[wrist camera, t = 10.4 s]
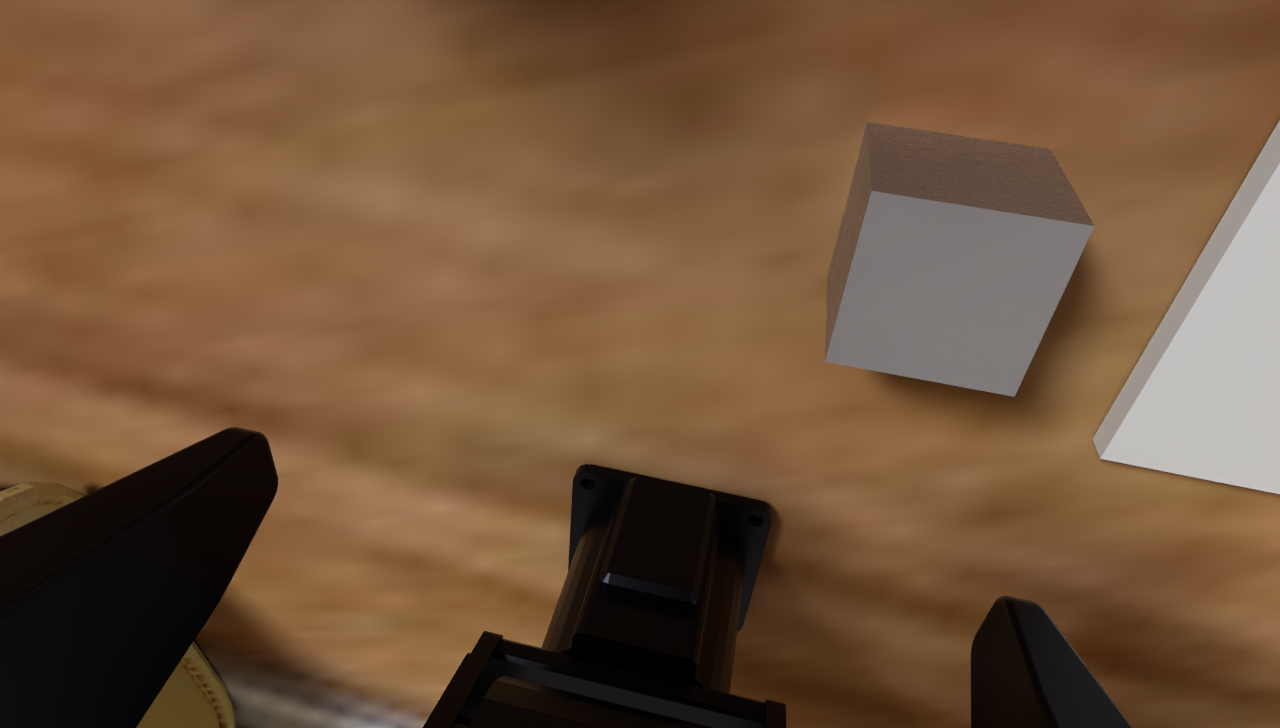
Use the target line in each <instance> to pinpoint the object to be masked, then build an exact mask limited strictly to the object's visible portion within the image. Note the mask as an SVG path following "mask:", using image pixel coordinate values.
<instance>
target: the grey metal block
mask: <svg viewBox="0 0 1280 728" xmlns="http://www.w3.org/2000/svg"><path fill="white" fill-rule="evenodd" d="M1093 228H1094V224H1093V222H1092V221H1091V219H1090V217H1089V216H1088V214H1087V212H1086V210H1085V209H1084V207H1083V205H1082V203H1081V202H1080V200H1079V198H1078V196H1077V195H1076V193H1075V191H1074V189H1073V188H1072V186H1071V184H1070V182H1069V181H1068V179H1067V177H1066V176H1065V174H1064V172H1063V170H1062V169H1061V167H1060V165H1059V163H1058V162H1057V160H1056V158H1055V156H1054V155H1053V153H1052V151H1051V149H1047V148H1041V147H1034V146H1027V145H1020V144H1013V143H1007V142H1000V141H993V140H986V139H979V138H973V137H966V136H959V135H952V134H945V133H939V132H932V131H925V130H918V129H911V128H905V127H898V126H891V125H884V124H877V123H871V122H867V124H866V128H865V132H864V136H863V140H862V144H861V148H860V152H859V156H858V159H857V163H856V167H855V171H854V175H853V179H852V183H851V187H850V191H849V195H848V199H847V202H846V206H845V210H844V214H843V218H842V222H841V226H840V230H839V234H838V238H837V242H836V246H835V249H834V253H833V257H832V261H831V265H830V269H829V273H828V290H827V316H826V343H825V362H829V363H835V364H840V365H845V366H851V367H856V368H862V369H867V370H872V371H878V372H883V373H889V374H894V375H899V376H905V377H910V378H916V379H921V380H926V381H932V382H937V383H943V384H948V385H953V386H959V387H964V388H970V389H975V390H980V391H986V392H991V393H997V394H1002V395H1007V396H1013V397H1015V395H1016V393H1017V391H1018V388H1019V386H1020V384H1021V382H1022V380H1023V378H1024V376H1025V374H1026V371H1027V369H1028V367H1029V365H1030V363H1031V361H1032V359H1033V356H1034V354H1035V352H1036V350H1037V348H1038V346H1039V344H1040V342H1041V339H1042V337H1043V335H1044V333H1045V331H1046V329H1047V327H1048V324H1049V322H1050V320H1051V318H1052V316H1053V314H1054V312H1055V310H1056V307H1057V305H1058V303H1059V301H1060V299H1061V297H1062V295H1063V292H1064V290H1065V288H1066V286H1067V284H1068V282H1069V280H1070V278H1071V275H1072V273H1073V271H1074V269H1075V267H1076V265H1077V263H1078V260H1079V258H1080V256H1081V254H1082V252H1083V250H1084V248H1085V246H1086V243H1087V241H1088V239H1089V237H1090V235H1091V233H1092V231H1093Z"/></svg>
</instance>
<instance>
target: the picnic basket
mask: <svg viewBox="0 0 1280 728" xmlns="http://www.w3.org/2000/svg"><path fill="white" fill-rule="evenodd" d="M82 497H84V495H82V494H79V493H77V492H75V491H73V490H71V489H68V488H66V487H64V486H62V485H60V484H53V483H26V482H25V483H22V484H19V485H16V486H14V487H11V488H9V489H6V490H1V489H0V536H2V535H4V534H6V533H8V532H10V531H12V530H14V529H17V528H19V527H21V526H23V525H25V524H27V523H29V522H31V521H33V520H35V519H38V518H40V517H42V516H44V515H46V514H48V513H50V512H52V511H54V510H56V509H59V508H61V507H63V506H65V505H67V504H69V503H71V502H73V501H75V500H78V499H80V498H82ZM136 728H236V726H235V718H234V709H233V705H232V703H231V700H230V698H229V695H228V693H227V691H226V688H225V686H224V685H223V683H222V682H221V680H220V679H219V677H218V676H217V674H216V673H215V671H214V670H213V668H212V667H211V666H210V664H209V663H208V661H207V660H206V658H205V657H204V655H203V654H202V652H201V651H200V649H199V648H198V646H197V645H196V643H195V642H194V641H193V643H192V644H191V646H190V647H189V649H188V650H187V652H186V653H185V655H184V656H183V658H182V660H181V661H180V663H179V664H178V666H177V667H176V669H175V670H174V672H173V673H172V675H171V676H170V678H169V679H168V681H167V682H166V684H165V685H164V687H163V688H162V690H161V691H160V693H159V694H158V696H157V697H156V699H155V700H154V702H153V703H152V705H151V706H150V708H149V709H148V711H147V712H146V714H145V715H144V717H143V718H142V720H141V721H140V723H139V724H138V726H137V727H136Z"/></svg>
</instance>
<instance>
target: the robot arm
mask: <svg viewBox="0 0 1280 728" xmlns="http://www.w3.org/2000/svg"><path fill="white" fill-rule="evenodd" d="M586 478H588V479H591V480H593V481H589V480H587V479H586ZM277 487H278V476H277V472H276V468H275V465H274V461H273V457H272V453H271V450H270V446H269V442H268V440H267V438H266V437H265V436H264V434H262V433H260V432H257V431H252V430H248V429H243V428H238V427H232V428H228V429H225V430H223V431H221V432H218V433H216V434H214V435H212V436H210V437H208V438H206V439H204V440H202V441H200V442H197V443H195V444H193V445H191V446H189V447H187V448H185V449H183V450H181V451H178V452H176V453H174V454H172V455H170V456H168V457H166V458H164V459H162V460H160V461H157V462H155V463H153V464H151V465H149V466H147V467H145V468H143V469H141V470H139V471H136V472H134V473H132V474H130V475H128V476H126V477H124V478H122V479H120V480H117V481H115V482H113V483H111V484H109V485H107V486H105V487H103V488H101V489H99V490H96V491H94V492H92V493H90V494H88V495H86V496H84V497H82V498H80V499H78V500H75V501H73V502H71V503H69V504H67V505H65V506H63V507H61V508H59V509H56V510H54V511H52V512H50V513H48V514H46V515H44V516H42V517H40V518H38V519H35V520H33V521H31V522H29V523H27V524H25V525H23V526H21V527H19V528H17V529H14V530H12V531H10V532H8V533H6V534H4V535H2V536H0V728H136V727H137V726H138V724H139V723H140V721H141V720H142V718H143V717H144V715H145V714H146V712H147V711H148V709H149V708H150V706H151V705H152V703H153V702H154V700H155V699H156V697H157V696H158V694H159V693H160V691H161V690H162V688H163V687H164V685H165V684H166V682H167V681H168V679H169V678H170V676H171V675H172V673H173V672H174V670H175V669H176V667H177V666H178V664H179V663H180V661H181V660H182V658H183V656H184V655H185V653H186V652H187V650H188V649H189V647H190V646H191V644H192V643H193V641H194V640H195V638H196V637H197V635H198V634H199V632H200V631H201V629H202V628H203V626H204V625H205V623H206V622H207V620H208V619H209V617H210V616H211V614H212V612H213V611H214V609H215V608H216V606H217V604H218V603H219V601H220V600H221V598H222V596H223V594H224V592H225V591H226V589H227V587H228V585H229V584H230V582H231V580H232V578H233V576H234V574H235V572H236V570H237V568H238V566H239V564H240V562H241V561H242V559H243V557H244V555H245V553H246V551H247V549H248V547H249V545H250V543H251V541H252V539H253V538H254V536H255V534H256V532H257V530H258V528H259V526H260V524H261V522H262V520H263V518H264V516H265V515H266V513H267V511H268V509H269V507H270V505H271V503H272V501H273V499H274V497H275V495H276V491H277ZM752 515H758V516H761V517H754V516H752ZM771 521H772V509H771V508H770V506H769V505H768V504H766V503H765V502H762V501H759V500H754V499H750V498H745V497H740V496H736V495H731V494H726V493H722V492H717V491H712V490H708V489H703V488H698V487H694V486H689V485H684V484H680V483H675V482H670V481H665V480H661V479H656V478H651V477H647V476H642V475H637V474H633V473H628V472H623V471H619V470H614V469H609V468H605V467H600V466H595V465H588V464H585V465H582V466H580V467H579V468H578V469H577V471H576V474H575V477H574V479H573V490H572V509H571V528H570V547H569V566H568V574H567V577H566V580H565V583H564V586H563V588H562V591H561V594H560V597H559V600H558V603H557V605H556V608H555V611H554V614H553V617H552V620H551V622H550V625H549V628H548V631H547V634H546V637H545V639H544V642H543V645H542V648H539V647H535V646H531V645H527V644H522V643H518V642H514V641H510V640H506V639H503V635H499V634H495V633H491V632H487V631H484V632H483V634H482V635H481V637H480V639H479V640H478V642H477V644H476V646H475V647H474V649H473V651H472V652H471V653H467V655H466V656H465V658H464V660H463V661H462V663H461V665H460V666H459V668H458V670H457V671H456V673H455V675H454V676H453V678H452V680H451V681H450V683H449V685H448V686H447V688H446V690H445V691H444V693H443V695H442V696H441V698H440V700H439V701H438V703H437V705H436V706H435V708H434V710H433V711H432V713H431V715H430V716H429V718H428V720H427V721H426V723H425V725H424V726H423V728H786V705H785V704H784V703H780V702H776V701H771V700H767V699H766V700H765V702H761V701H757V700H753V699H749V698H745V697H741V696H736V695H732V694H729V692H730V684H731V676H732V668H733V660H734V652H735V644H736V637H737V632H738V631H740V630H741V628H742V627H743V623H744V620H745V616H746V612H747V609H748V605H749V602H750V598H751V595H752V591H753V587H754V584H755V580H756V577H757V573H758V569H759V566H760V562H761V559H762V555H763V552H764V548H765V544H766V541H767V537H768V534H769V530H770V526H771ZM971 728H1132V726H1131V725H1130V724H1129V722H1128V721H1127V720H1126V718H1125V717H1124V716H1123V714H1122V713H1121V712H1120V710H1119V709H1118V708H1117V706H1116V705H1115V704H1114V702H1113V701H1112V700H1111V698H1110V697H1109V696H1108V694H1107V693H1106V692H1105V690H1104V689H1103V687H1102V686H1101V685H1100V683H1099V682H1098V681H1097V679H1096V678H1095V677H1094V675H1093V674H1092V673H1091V671H1090V670H1089V669H1088V667H1087V666H1086V665H1085V663H1084V662H1083V661H1082V659H1081V658H1080V657H1079V655H1078V654H1077V653H1076V651H1075V650H1074V649H1073V647H1072V646H1071V645H1070V643H1069V642H1068V641H1067V639H1066V638H1065V637H1064V635H1063V634H1062V633H1061V631H1060V630H1059V628H1058V627H1057V626H1056V624H1055V623H1054V622H1053V620H1052V619H1051V618H1050V616H1049V615H1048V614H1047V612H1046V611H1045V610H1044V609H1043V608H1042V607H1041V606H1040V605H1039V604H1037V603H1035V602H1032V601H1028V600H1023V599H1019V598H1014V597H1010V596H1002V597H1000V598H998V599H997V600H996V601H995V603H994V604H993V606H992V608H991V609H990V611H989V613H988V615H987V616H986V618H985V620H984V621H983V623H982V625H981V627H980V628H979V630H978V632H977V633H976V635H975V637H974V640H973V644H972V649H971Z"/></svg>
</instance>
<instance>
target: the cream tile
mask: <svg viewBox="0 0 1280 728" xmlns="http://www.w3.org/2000/svg"><path fill="white" fill-rule="evenodd" d="M1093 441H1094V444H1095V446H1096V449H1097V452H1098V454H1099V457H1100V459H1104V460H1109V461H1114V462H1119V463H1124V464H1129V465H1135V466H1140V467H1145V468H1150V469H1155V470H1160V471H1165V472H1170V473H1175V474H1180V475H1185V476H1190V477H1195V478H1200V479H1205V480H1210V481H1215V482H1220V483H1225V484H1230V485H1235V486H1241V487H1246V488H1251V489H1256V490H1261V491H1266V492H1271V493H1276V494H1280V120H1279V122H1278V124H1277V126H1276V127H1275V129H1274V131H1273V132H1272V134H1271V136H1270V137H1269V139H1268V141H1267V143H1266V144H1265V146H1264V148H1263V149H1262V151H1261V153H1260V155H1259V156H1258V158H1257V160H1256V161H1255V163H1254V165H1253V166H1252V168H1251V170H1250V172H1249V173H1248V175H1247V177H1246V178H1245V180H1244V182H1243V183H1242V185H1241V187H1240V189H1239V190H1238V192H1237V194H1236V195H1235V197H1234V199H1233V201H1232V202H1231V204H1230V206H1229V207H1228V209H1227V211H1226V212H1225V214H1224V216H1223V218H1222V219H1221V221H1220V223H1219V224H1218V226H1217V228H1216V230H1215V231H1214V233H1213V235H1212V236H1211V238H1210V240H1209V241H1208V243H1207V245H1206V247H1205V248H1204V250H1203V252H1202V253H1201V255H1200V257H1199V259H1198V260H1197V262H1196V264H1195V265H1194V267H1193V269H1192V270H1191V272H1190V274H1189V276H1188V277H1187V279H1186V281H1185V282H1184V284H1183V286H1182V288H1181V289H1180V291H1179V293H1178V294H1177V296H1176V298H1175V299H1174V301H1173V303H1172V305H1171V306H1170V308H1169V310H1168V311H1167V313H1166V315H1165V316H1164V318H1163V320H1162V322H1161V323H1160V325H1159V327H1158V328H1157V330H1156V332H1155V334H1154V335H1153V337H1152V339H1151V340H1150V342H1149V344H1148V345H1147V347H1146V349H1145V351H1144V352H1143V354H1142V356H1141V357H1140V359H1139V361H1138V363H1137V364H1136V366H1135V368H1134V369H1133V371H1132V373H1131V374H1130V376H1129V378H1128V380H1127V381H1126V383H1125V385H1124V386H1123V388H1122V390H1121V392H1120V393H1119V395H1118V397H1117V398H1116V400H1115V402H1114V403H1113V405H1112V407H1111V409H1110V410H1109V412H1108V414H1107V415H1106V417H1105V419H1104V421H1103V422H1102V424H1101V426H1100V427H1099V429H1098V431H1097V432H1096V434H1095V436H1094V438H1093Z"/></svg>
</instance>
